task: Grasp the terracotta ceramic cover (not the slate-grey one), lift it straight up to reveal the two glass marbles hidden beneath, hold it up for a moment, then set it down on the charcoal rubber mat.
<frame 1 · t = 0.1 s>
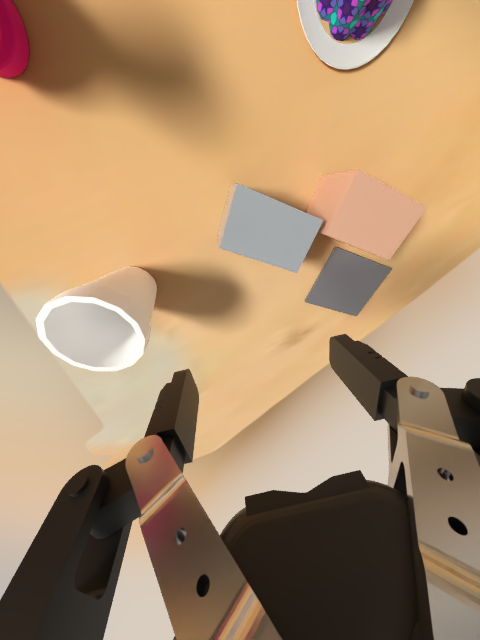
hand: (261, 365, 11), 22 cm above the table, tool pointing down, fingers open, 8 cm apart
foam cup: (136, 285, 30), on the table
cover terracotta: (339, 214, 28), on the table
mat: (346, 284, 35), on the table
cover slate: (257, 224, 28), on the table
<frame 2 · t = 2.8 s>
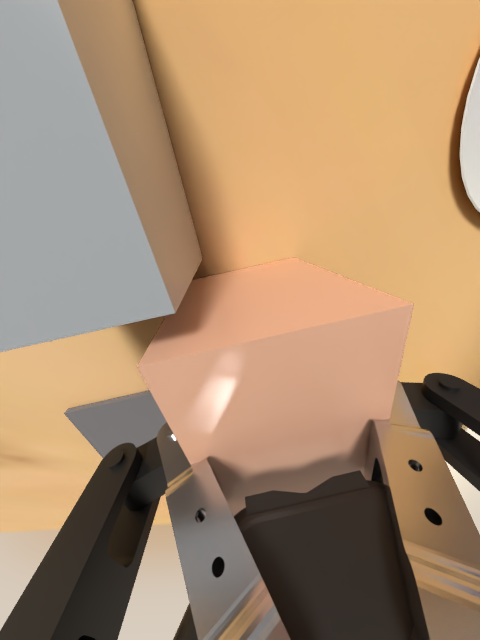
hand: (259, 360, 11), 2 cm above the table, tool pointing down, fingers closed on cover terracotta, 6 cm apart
cover terracotta: (254, 342, 13), on the table, touching gripper
mat: (166, 443, 17), on the table
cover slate: (99, 155, 8), on the table
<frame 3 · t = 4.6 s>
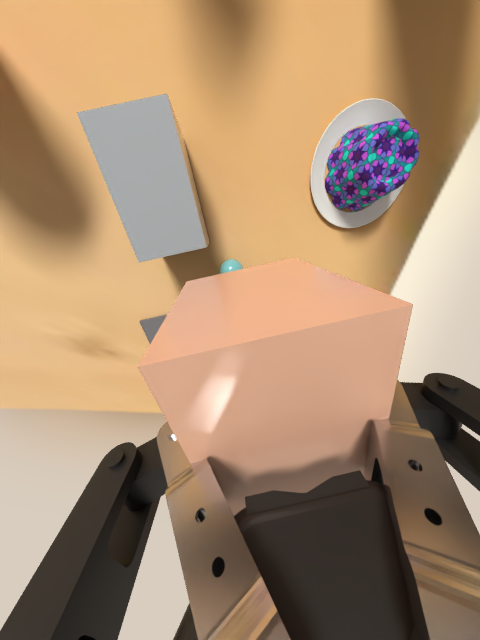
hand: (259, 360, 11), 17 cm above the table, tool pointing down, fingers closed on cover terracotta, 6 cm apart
cover terracotta: (254, 342, 13), point 15 cm above the table, touching gripper
mat: (188, 347, 30), on the table
pudding: (355, 172, 23), on the table
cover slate: (171, 201, 22), on the table
marble 1: (230, 269, 26), on the table
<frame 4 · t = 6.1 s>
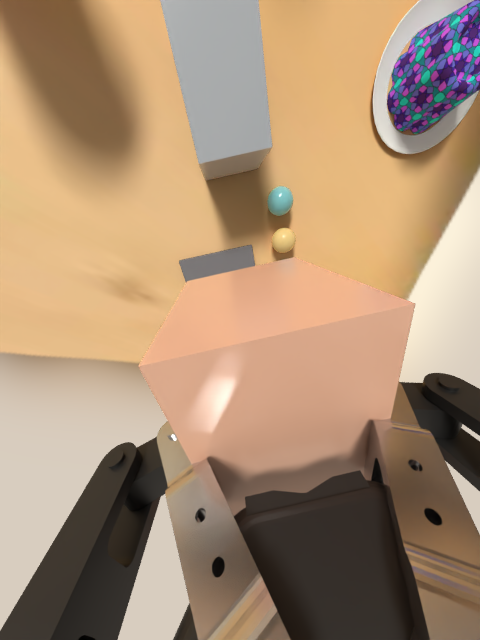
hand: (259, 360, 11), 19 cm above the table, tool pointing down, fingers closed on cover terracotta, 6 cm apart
cover terracotta: (255, 342, 13), point 17 cm above the table, touching gripper
marble 2: (280, 239, 26), on the table
mat: (225, 293, 29), on the table
pudding: (421, 86, 21), on the table
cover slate: (221, 117, 21), on the table
marble 1: (276, 202, 24), on the table
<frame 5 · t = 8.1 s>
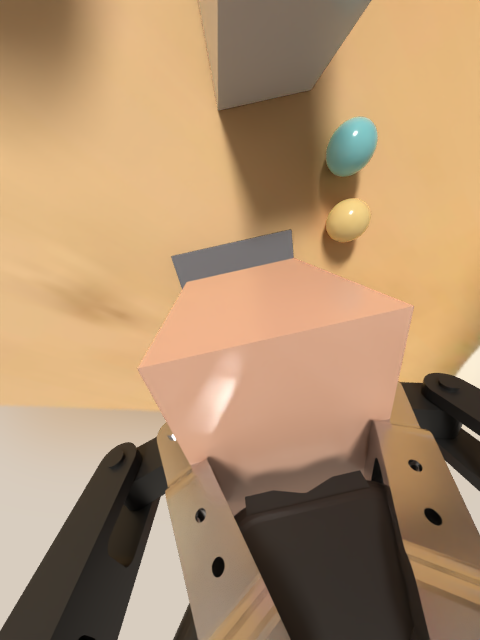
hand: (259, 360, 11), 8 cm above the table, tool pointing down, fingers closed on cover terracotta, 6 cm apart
cover terracotta: (254, 343, 13), point 6 cm above the table, touching gripper
marble 2: (336, 221, 16), on the table
mat: (244, 308, 19), on the table
marble 1: (337, 156, 14), on the table
when the fingers open (3 cm above the table, at t = 9.6 s): cover terracotta drops 1 cm, resting on mat.
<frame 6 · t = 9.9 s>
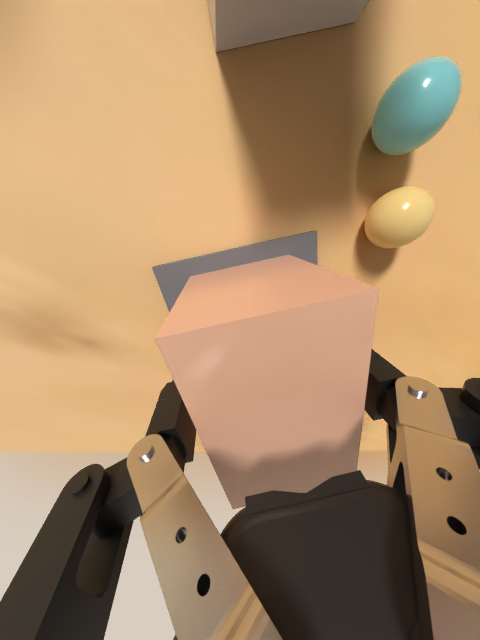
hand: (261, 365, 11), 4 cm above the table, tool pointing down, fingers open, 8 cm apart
cover terracotta: (252, 334, 14), resting on mat
marble 2: (376, 220, 12), on the table
mat: (250, 332, 15), on the table
marble 1: (385, 127, 10), on the table
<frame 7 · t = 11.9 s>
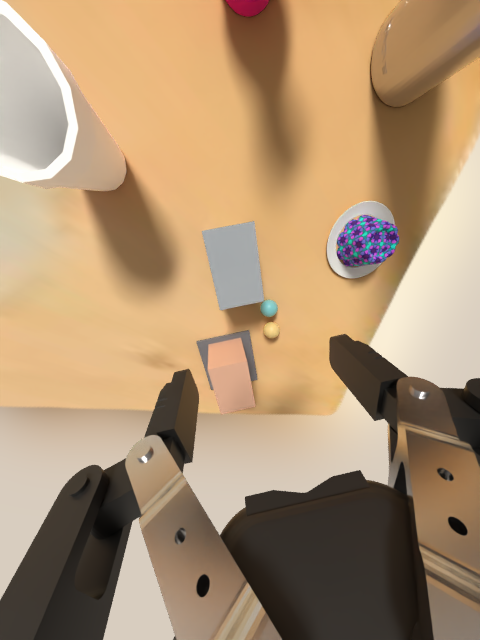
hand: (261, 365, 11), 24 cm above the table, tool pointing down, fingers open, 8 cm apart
foam cup: (100, 162, 25), on the table
cover terracotta: (229, 362, 39), resting on mat
marble 2: (269, 326, 37), on the table
mat: (229, 361, 39), on the table
pudding: (357, 242, 34), on the table
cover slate: (230, 261, 32), on the table
marble 1: (266, 305, 36), on the table
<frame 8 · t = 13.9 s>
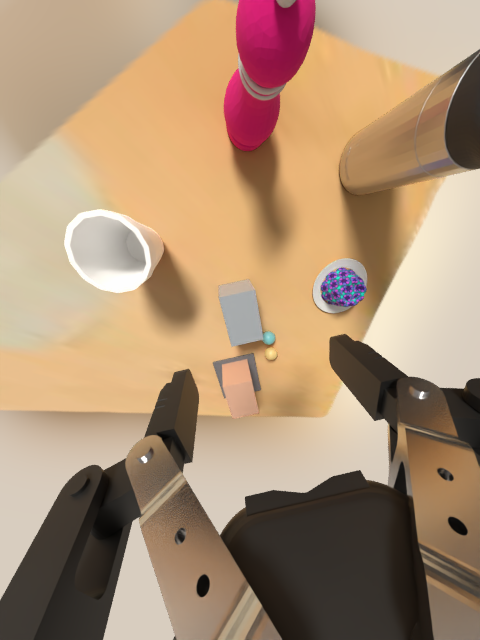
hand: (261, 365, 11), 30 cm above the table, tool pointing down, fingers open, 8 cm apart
foam cup: (146, 245, 35), on the table
cover terracotta: (238, 377, 50), resting on mat
marble 2: (269, 350, 47), on the table
pepper mill: (246, 125, 30), on the table
mat: (238, 376, 50), on the table
pudding: (337, 286, 43), on the table
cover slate: (238, 304, 42), on the table
marble 1: (267, 334, 46), on the table
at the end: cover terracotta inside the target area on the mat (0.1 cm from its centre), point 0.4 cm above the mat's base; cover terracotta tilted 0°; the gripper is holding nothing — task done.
